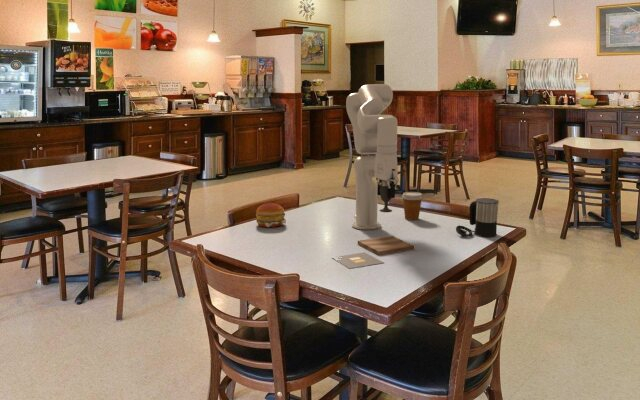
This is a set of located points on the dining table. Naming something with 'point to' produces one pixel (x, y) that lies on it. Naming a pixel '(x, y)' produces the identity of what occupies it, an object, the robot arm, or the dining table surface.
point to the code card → (358, 260)
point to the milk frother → (482, 218)
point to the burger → (270, 215)
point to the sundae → (384, 195)
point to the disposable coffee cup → (412, 205)
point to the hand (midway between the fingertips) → (386, 195)
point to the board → (385, 245)
